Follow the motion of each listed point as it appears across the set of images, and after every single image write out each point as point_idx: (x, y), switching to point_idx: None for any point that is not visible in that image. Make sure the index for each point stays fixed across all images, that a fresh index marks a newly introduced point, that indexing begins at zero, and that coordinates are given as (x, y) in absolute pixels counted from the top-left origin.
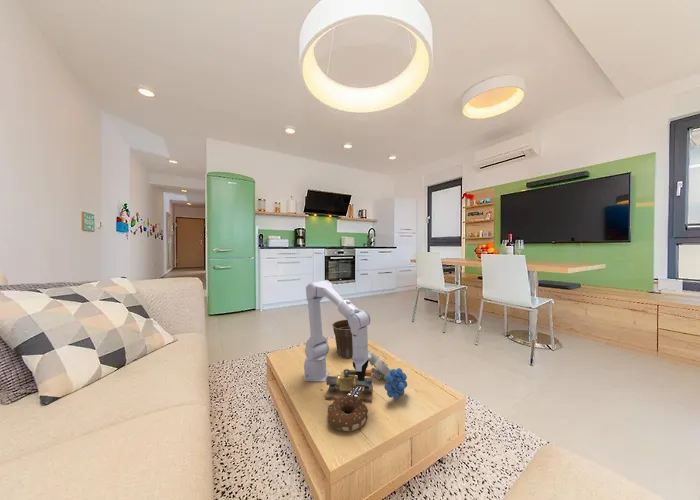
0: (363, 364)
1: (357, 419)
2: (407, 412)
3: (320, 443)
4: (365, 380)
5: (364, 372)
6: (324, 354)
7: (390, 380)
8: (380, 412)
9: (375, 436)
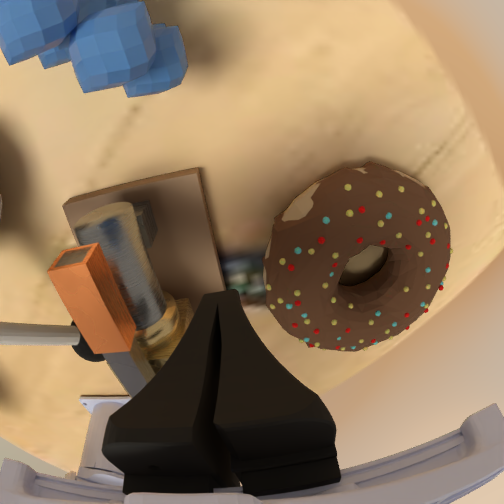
0: (444, 468)
1: (440, 211)
2: None
3: (454, 291)
4: (128, 269)
5: (268, 352)
6: (91, 480)
7: (150, 20)
8: (275, 97)
9: (435, 109)
